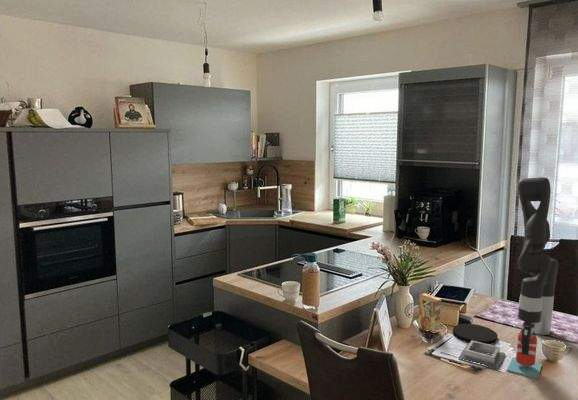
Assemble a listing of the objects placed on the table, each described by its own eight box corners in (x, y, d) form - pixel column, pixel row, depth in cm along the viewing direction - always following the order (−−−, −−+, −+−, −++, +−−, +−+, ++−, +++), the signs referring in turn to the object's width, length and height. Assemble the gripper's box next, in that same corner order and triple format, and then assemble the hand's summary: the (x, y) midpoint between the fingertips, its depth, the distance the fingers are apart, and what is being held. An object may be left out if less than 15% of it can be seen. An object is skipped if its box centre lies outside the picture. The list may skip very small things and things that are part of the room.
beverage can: (532, 361, 177) (535, 330, 175) (535, 368, 171) (538, 337, 169) (515, 358, 179) (517, 328, 177) (517, 366, 173) (519, 334, 171)
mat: (512, 358, 183) (512, 356, 182) (541, 365, 177) (541, 364, 177) (507, 371, 173) (507, 369, 173) (537, 379, 167) (537, 377, 167)
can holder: (467, 345, 193) (468, 337, 192) (504, 355, 185) (505, 346, 185) (458, 359, 181) (459, 350, 181) (497, 369, 174) (498, 360, 173)
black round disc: (453, 342, 197) (453, 337, 196) (451, 325, 214) (452, 321, 213) (499, 348, 192) (500, 343, 191) (494, 331, 209) (494, 326, 208)
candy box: (439, 332, 205) (442, 298, 203) (433, 334, 203) (435, 300, 201) (423, 325, 212) (425, 292, 210) (417, 327, 210) (419, 294, 208)
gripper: (521, 299, 180) (518, 340, 182) (515, 310, 168) (511, 355, 170) (544, 303, 175) (540, 346, 178) (539, 315, 164) (535, 361, 166)
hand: (526, 350), depth 174 cm, fingers closed on beverage can, 6 cm apart
